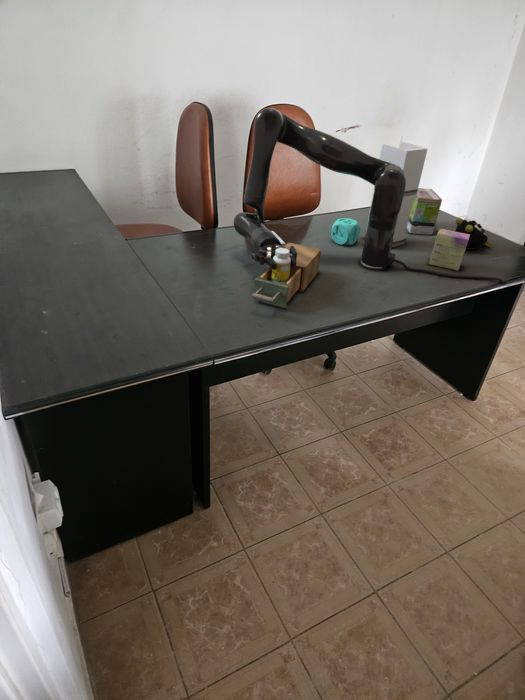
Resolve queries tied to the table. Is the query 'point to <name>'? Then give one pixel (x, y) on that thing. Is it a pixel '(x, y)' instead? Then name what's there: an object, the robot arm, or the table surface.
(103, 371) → the table surface
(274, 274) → the supplement bottle
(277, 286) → the drawer
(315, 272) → the cabinet
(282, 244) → the hard drive
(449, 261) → the box
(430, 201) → the tea box
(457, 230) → the black yellow plush toy
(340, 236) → the decorative dice
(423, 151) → the tall white carton
